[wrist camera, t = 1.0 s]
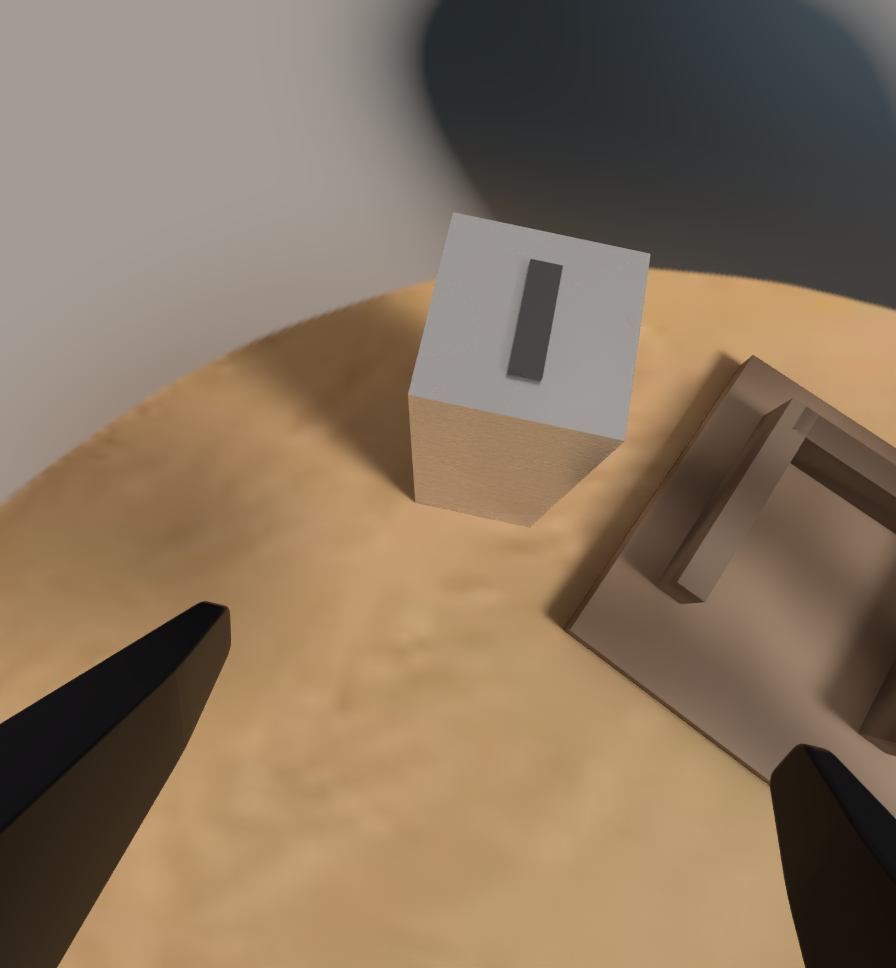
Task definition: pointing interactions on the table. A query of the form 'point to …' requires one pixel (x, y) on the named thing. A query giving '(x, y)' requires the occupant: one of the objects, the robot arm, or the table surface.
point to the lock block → (522, 368)
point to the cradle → (765, 584)
